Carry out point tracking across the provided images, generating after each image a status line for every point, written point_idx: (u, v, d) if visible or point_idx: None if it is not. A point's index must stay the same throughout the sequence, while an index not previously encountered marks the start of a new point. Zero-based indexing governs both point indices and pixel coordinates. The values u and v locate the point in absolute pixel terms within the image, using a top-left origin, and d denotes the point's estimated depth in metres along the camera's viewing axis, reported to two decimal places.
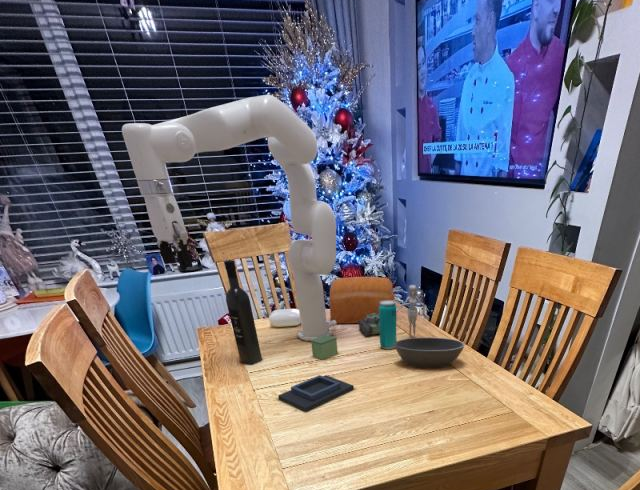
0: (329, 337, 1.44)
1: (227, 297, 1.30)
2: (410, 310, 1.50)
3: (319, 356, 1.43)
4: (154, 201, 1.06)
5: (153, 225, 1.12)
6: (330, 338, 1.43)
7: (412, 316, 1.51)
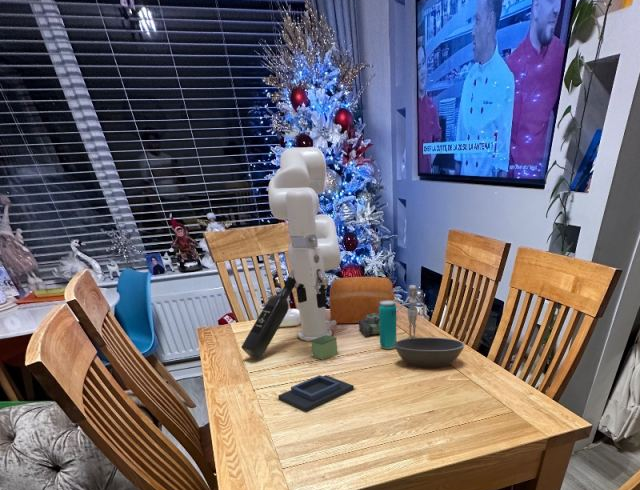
0: (329, 337, 1.44)
1: (272, 296, 1.44)
2: (410, 310, 1.50)
3: (319, 356, 1.43)
4: (303, 253, 1.24)
5: (296, 271, 1.30)
6: (330, 338, 1.43)
7: (412, 316, 1.51)
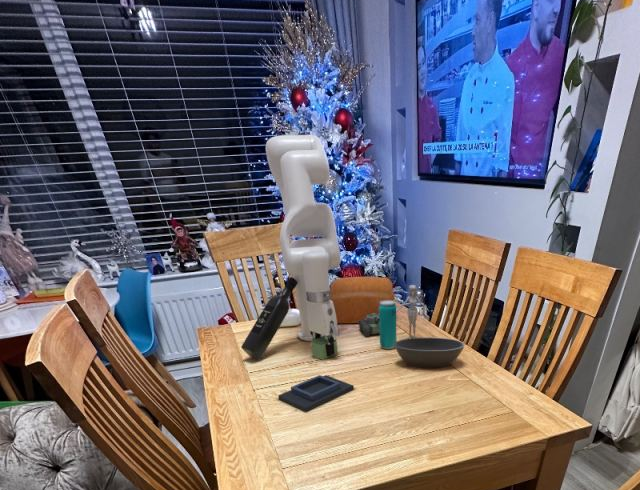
0: (329, 337, 1.44)
1: (273, 297, 1.43)
2: (410, 310, 1.50)
3: (319, 356, 1.43)
4: (318, 306, 1.34)
5: (310, 321, 1.40)
6: None
7: (412, 316, 1.51)
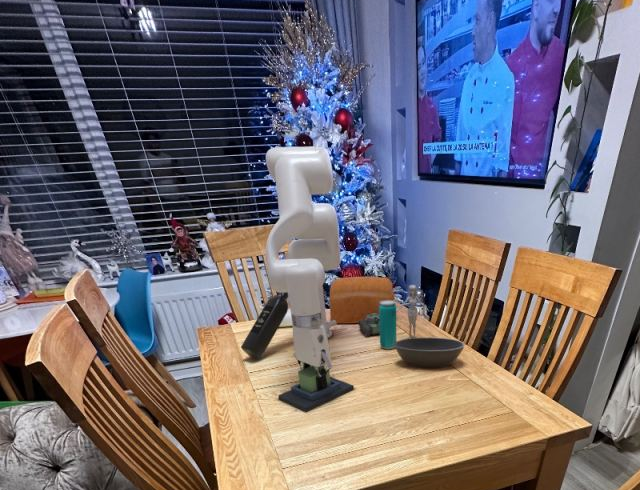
0: (320, 367, 1.19)
1: (272, 297, 1.44)
2: (410, 310, 1.50)
3: (308, 390, 1.18)
4: (306, 332, 1.09)
5: (297, 349, 1.15)
6: None
7: (412, 316, 1.51)
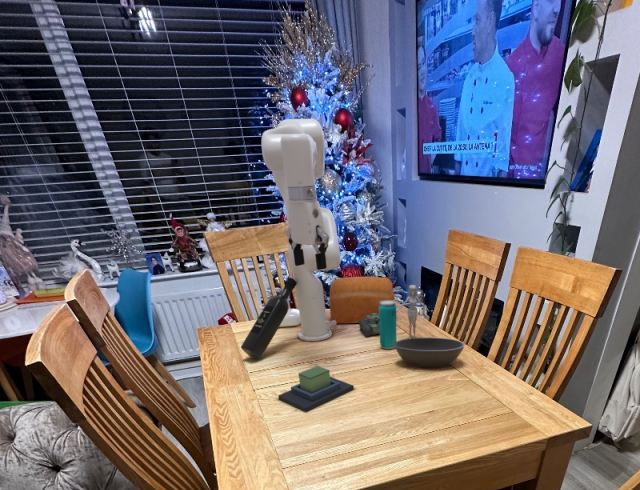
0: (321, 369, 1.20)
1: (272, 297, 1.44)
2: (410, 310, 1.50)
3: (309, 392, 1.19)
4: (301, 206, 1.12)
5: (293, 229, 1.18)
6: (322, 370, 1.19)
7: (412, 316, 1.51)
